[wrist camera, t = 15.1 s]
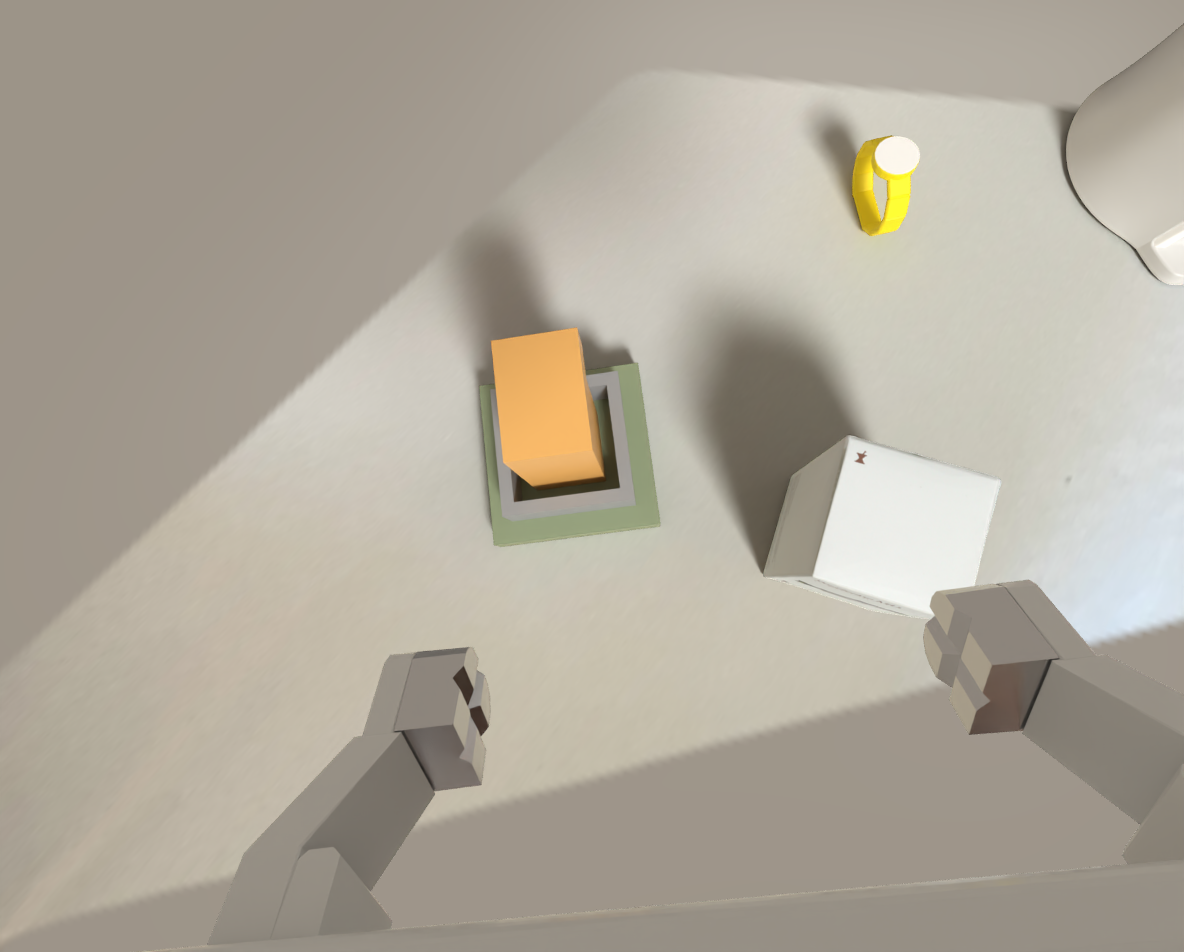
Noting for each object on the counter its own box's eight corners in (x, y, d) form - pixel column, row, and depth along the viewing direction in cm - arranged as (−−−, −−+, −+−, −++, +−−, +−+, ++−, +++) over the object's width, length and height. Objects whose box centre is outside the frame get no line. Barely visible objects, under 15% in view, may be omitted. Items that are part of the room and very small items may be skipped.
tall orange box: (606, 481, 42) (592, 450, 32) (537, 490, 42) (503, 462, 32) (593, 385, 43) (577, 327, 33) (527, 395, 43) (490, 340, 33)
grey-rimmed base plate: (638, 372, 45) (636, 346, 40) (660, 526, 43) (661, 519, 38) (486, 394, 46) (466, 371, 41) (501, 546, 44) (481, 542, 39)
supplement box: (759, 578, 42) (805, 576, 29) (790, 472, 43) (847, 427, 30) (871, 615, 41) (968, 629, 28) (901, 506, 42) (1006, 474, 29)
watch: (836, 181, 46) (861, 118, 41) (874, 173, 46) (905, 108, 40) (858, 253, 45) (887, 197, 39) (898, 244, 45) (933, 187, 39)
